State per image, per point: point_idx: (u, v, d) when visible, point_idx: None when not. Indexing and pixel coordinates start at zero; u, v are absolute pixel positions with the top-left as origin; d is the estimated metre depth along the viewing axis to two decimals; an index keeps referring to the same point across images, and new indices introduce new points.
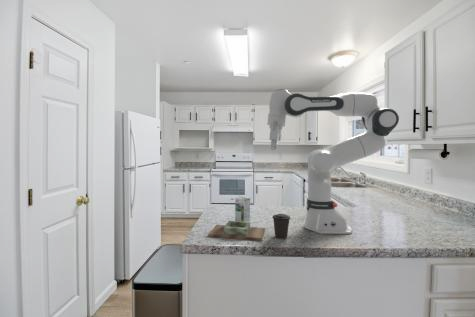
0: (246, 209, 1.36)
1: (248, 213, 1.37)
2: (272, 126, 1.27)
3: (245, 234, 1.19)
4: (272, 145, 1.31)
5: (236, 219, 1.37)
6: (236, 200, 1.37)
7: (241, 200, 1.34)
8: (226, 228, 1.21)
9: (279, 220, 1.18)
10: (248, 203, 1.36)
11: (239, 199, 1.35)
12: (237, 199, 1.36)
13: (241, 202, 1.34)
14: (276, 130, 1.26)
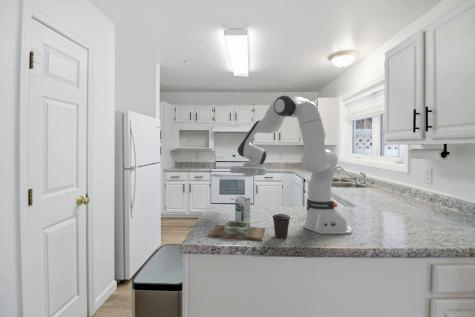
0: (246, 209, 1.36)
1: (248, 213, 1.37)
2: None
3: (245, 234, 1.19)
4: (236, 171, 1.51)
5: (236, 219, 1.37)
6: (236, 200, 1.37)
7: (241, 200, 1.34)
8: (226, 228, 1.21)
9: (279, 220, 1.18)
10: (248, 203, 1.36)
11: (239, 199, 1.35)
12: (237, 199, 1.36)
13: (241, 202, 1.34)
14: None
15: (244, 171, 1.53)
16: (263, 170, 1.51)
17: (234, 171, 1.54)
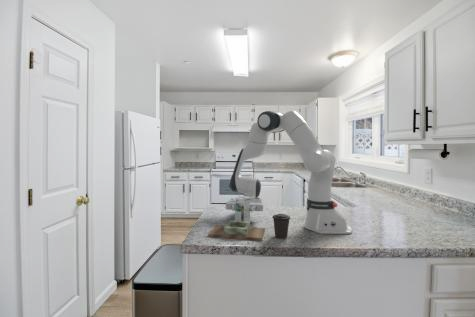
0: (246, 209, 1.35)
1: (248, 213, 1.37)
2: None
3: (245, 234, 1.19)
4: None
5: (236, 219, 1.37)
6: (236, 200, 1.37)
7: (241, 200, 1.34)
8: (226, 228, 1.21)
9: (279, 220, 1.18)
10: (248, 203, 1.36)
11: (239, 199, 1.35)
12: (237, 199, 1.36)
13: (241, 202, 1.34)
14: None
15: None
16: (261, 206, 1.39)
17: (229, 207, 1.43)
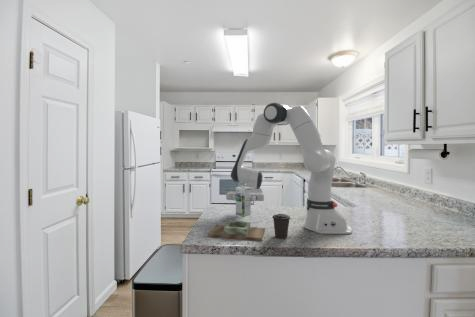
0: (247, 199, 1.35)
1: (249, 203, 1.36)
2: None
3: (245, 234, 1.19)
4: (233, 198, 1.39)
5: (237, 209, 1.36)
6: (236, 190, 1.36)
7: (242, 190, 1.33)
8: (226, 228, 1.21)
9: (279, 220, 1.18)
10: (249, 193, 1.36)
11: (239, 189, 1.34)
12: (237, 189, 1.36)
13: (241, 192, 1.33)
14: None
15: None
16: (261, 196, 1.39)
17: (230, 198, 1.42)
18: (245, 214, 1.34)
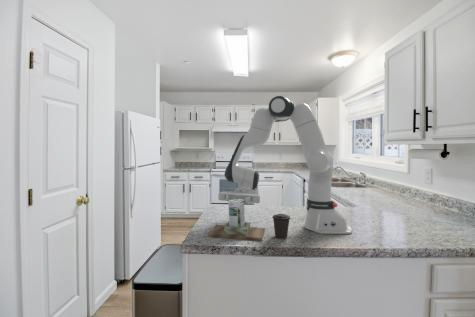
0: (242, 212, 1.24)
1: (243, 216, 1.25)
2: None
3: (245, 234, 1.19)
4: None
5: (231, 225, 1.23)
6: (229, 204, 1.23)
7: (237, 203, 1.21)
8: (226, 228, 1.21)
9: (279, 220, 1.18)
10: (243, 206, 1.25)
11: (234, 202, 1.22)
12: (231, 203, 1.23)
13: (237, 205, 1.21)
14: None
15: (235, 198, 1.29)
16: (257, 198, 1.26)
17: (223, 198, 1.29)
18: None
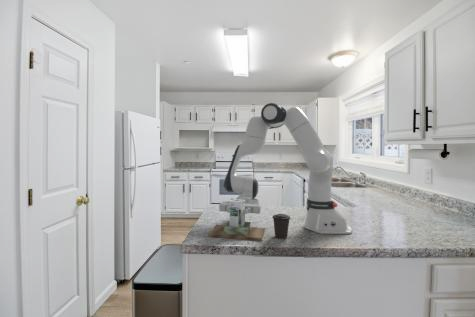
0: (243, 213, 1.24)
1: (244, 217, 1.25)
2: None
3: (245, 234, 1.19)
4: None
5: (231, 225, 1.23)
6: (230, 204, 1.23)
7: (238, 204, 1.21)
8: (226, 228, 1.21)
9: (279, 220, 1.18)
10: (244, 206, 1.25)
11: (235, 202, 1.22)
12: (232, 203, 1.22)
13: (238, 206, 1.21)
14: None
15: None
16: (257, 208, 1.26)
17: (223, 209, 1.30)
18: None
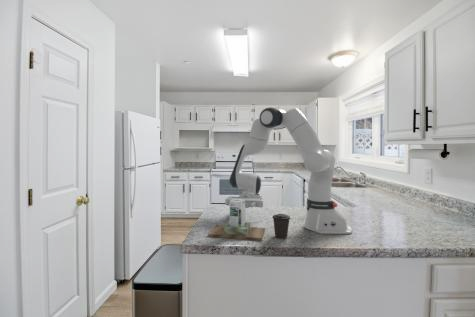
0: (243, 213, 1.24)
1: (244, 217, 1.25)
2: None
3: (245, 234, 1.19)
4: None
5: (231, 225, 1.23)
6: (230, 204, 1.23)
7: (238, 204, 1.21)
8: (226, 228, 1.21)
9: (279, 220, 1.18)
10: (244, 206, 1.25)
11: (235, 203, 1.22)
12: (232, 203, 1.22)
13: (238, 206, 1.21)
14: None
15: None
16: (260, 202, 1.39)
17: (229, 203, 1.42)
18: None
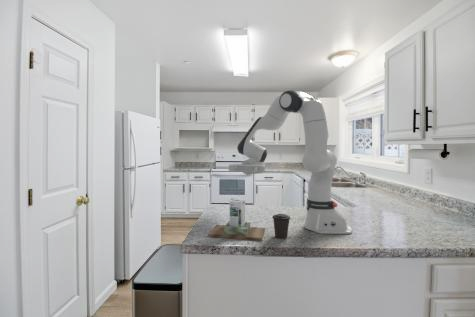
0: (243, 213, 1.24)
1: (244, 217, 1.25)
2: None
3: (245, 234, 1.19)
4: (234, 169, 1.45)
5: (231, 225, 1.23)
6: (230, 204, 1.23)
7: (238, 204, 1.21)
8: (226, 228, 1.21)
9: (279, 220, 1.18)
10: (244, 206, 1.25)
11: (235, 203, 1.22)
12: (232, 203, 1.22)
13: (238, 206, 1.21)
14: None
15: (243, 169, 1.48)
16: (262, 167, 1.45)
17: (232, 169, 1.48)
18: None
